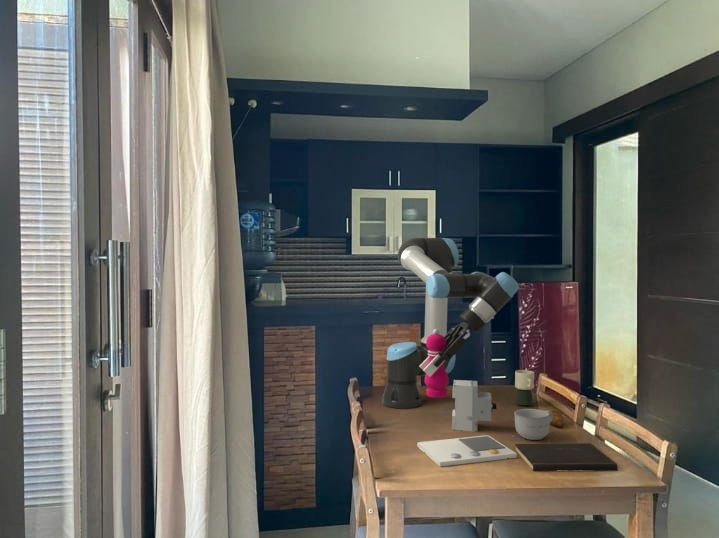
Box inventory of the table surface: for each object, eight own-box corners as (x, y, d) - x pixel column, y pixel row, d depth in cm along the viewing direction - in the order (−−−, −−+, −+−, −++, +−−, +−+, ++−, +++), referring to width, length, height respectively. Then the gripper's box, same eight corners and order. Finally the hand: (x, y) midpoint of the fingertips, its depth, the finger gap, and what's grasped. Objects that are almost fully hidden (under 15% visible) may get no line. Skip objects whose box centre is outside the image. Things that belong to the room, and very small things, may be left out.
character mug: (539, 408, 201) (539, 374, 201) (521, 409, 200) (521, 375, 200) (527, 401, 212) (527, 368, 212) (509, 401, 211) (510, 369, 211)
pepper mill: (441, 391, 165) (440, 326, 165) (453, 396, 159) (452, 329, 158) (420, 393, 163) (419, 328, 163) (431, 399, 156) (430, 331, 156)
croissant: (571, 429, 178) (571, 414, 178) (551, 429, 178) (551, 414, 178) (555, 417, 192) (555, 403, 192) (536, 417, 192) (536, 403, 191)
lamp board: (417, 446, 161) (417, 441, 161) (488, 438, 168) (488, 433, 168) (439, 466, 146) (439, 460, 146) (516, 457, 153) (516, 452, 153)
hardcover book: (514, 451, 159) (514, 443, 159) (590, 450, 160) (590, 443, 160) (533, 473, 143) (533, 464, 143) (617, 472, 144) (617, 464, 144)
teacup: (526, 444, 163) (527, 418, 163) (507, 433, 174) (507, 408, 174) (565, 440, 167) (565, 414, 167) (544, 429, 178) (544, 405, 177)
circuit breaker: (496, 433, 174) (496, 387, 173) (452, 429, 177) (452, 385, 176) (495, 425, 181) (495, 382, 181) (452, 422, 184) (453, 379, 184)
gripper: (495, 327, 153) (440, 387, 152) (476, 320, 171) (426, 373, 170) (477, 309, 152) (421, 369, 151) (460, 304, 170) (410, 357, 169)
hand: (424, 371), depth 160 cm, fingers closed on pepper mill, 5 cm apart
